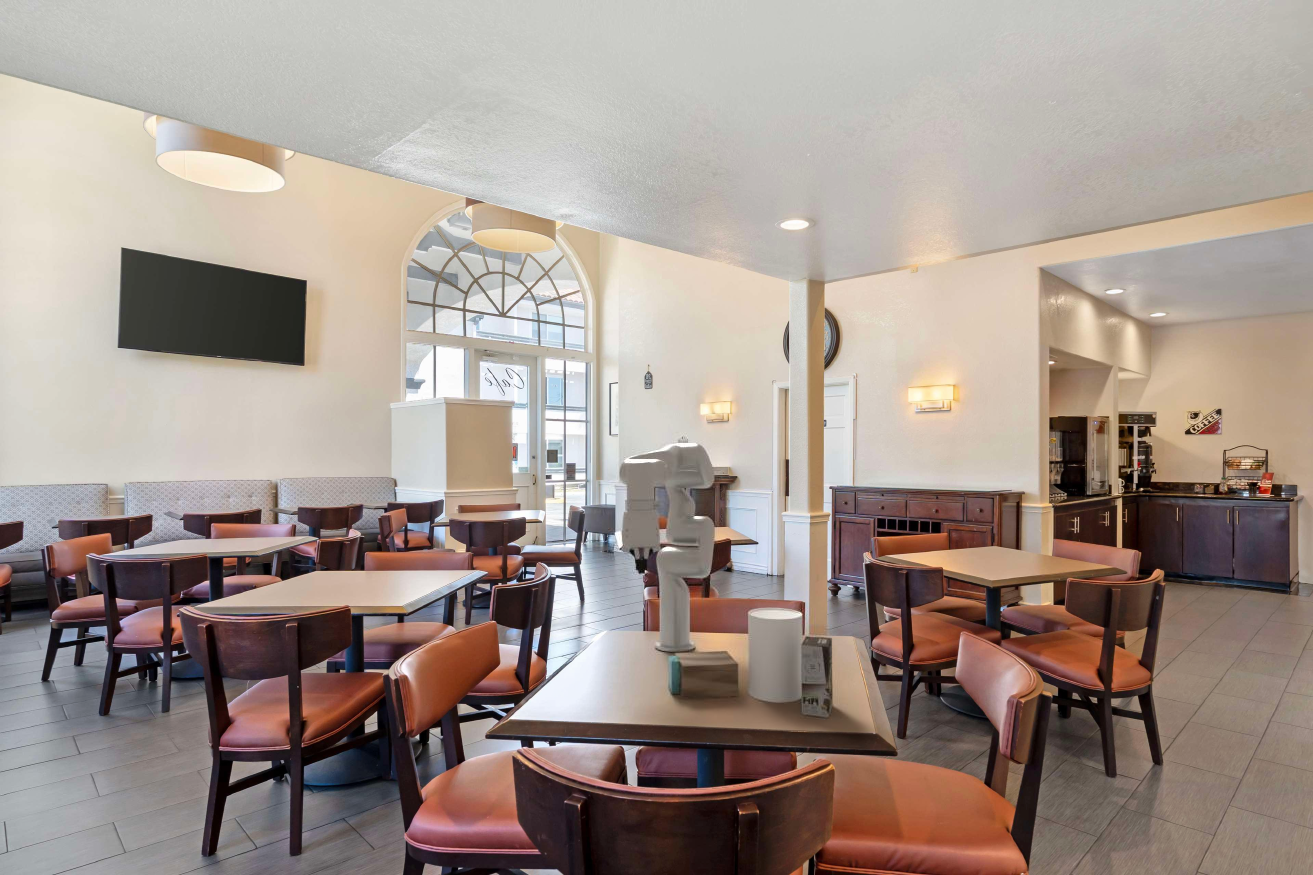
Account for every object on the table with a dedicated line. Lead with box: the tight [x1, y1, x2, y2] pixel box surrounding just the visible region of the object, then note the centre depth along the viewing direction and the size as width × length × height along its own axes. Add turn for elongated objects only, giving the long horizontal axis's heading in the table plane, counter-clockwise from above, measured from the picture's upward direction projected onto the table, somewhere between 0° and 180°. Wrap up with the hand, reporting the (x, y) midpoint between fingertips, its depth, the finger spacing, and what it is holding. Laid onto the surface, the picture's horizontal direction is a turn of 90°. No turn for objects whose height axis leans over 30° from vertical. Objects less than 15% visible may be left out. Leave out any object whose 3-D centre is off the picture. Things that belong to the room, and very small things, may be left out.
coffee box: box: [801, 635, 834, 719], centre depth 162 cm, size 9×6×16 cm
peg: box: [667, 655, 680, 695], centre depth 176 cm, size 5×14×8 cm, turn 98°
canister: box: [747, 607, 804, 703], centre depth 174 cm, size 14×14×20 cm
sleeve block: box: [674, 650, 739, 700], centre depth 176 cm, size 12×14×8 cm
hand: (641, 572), depth 188 cm, fingers closed
